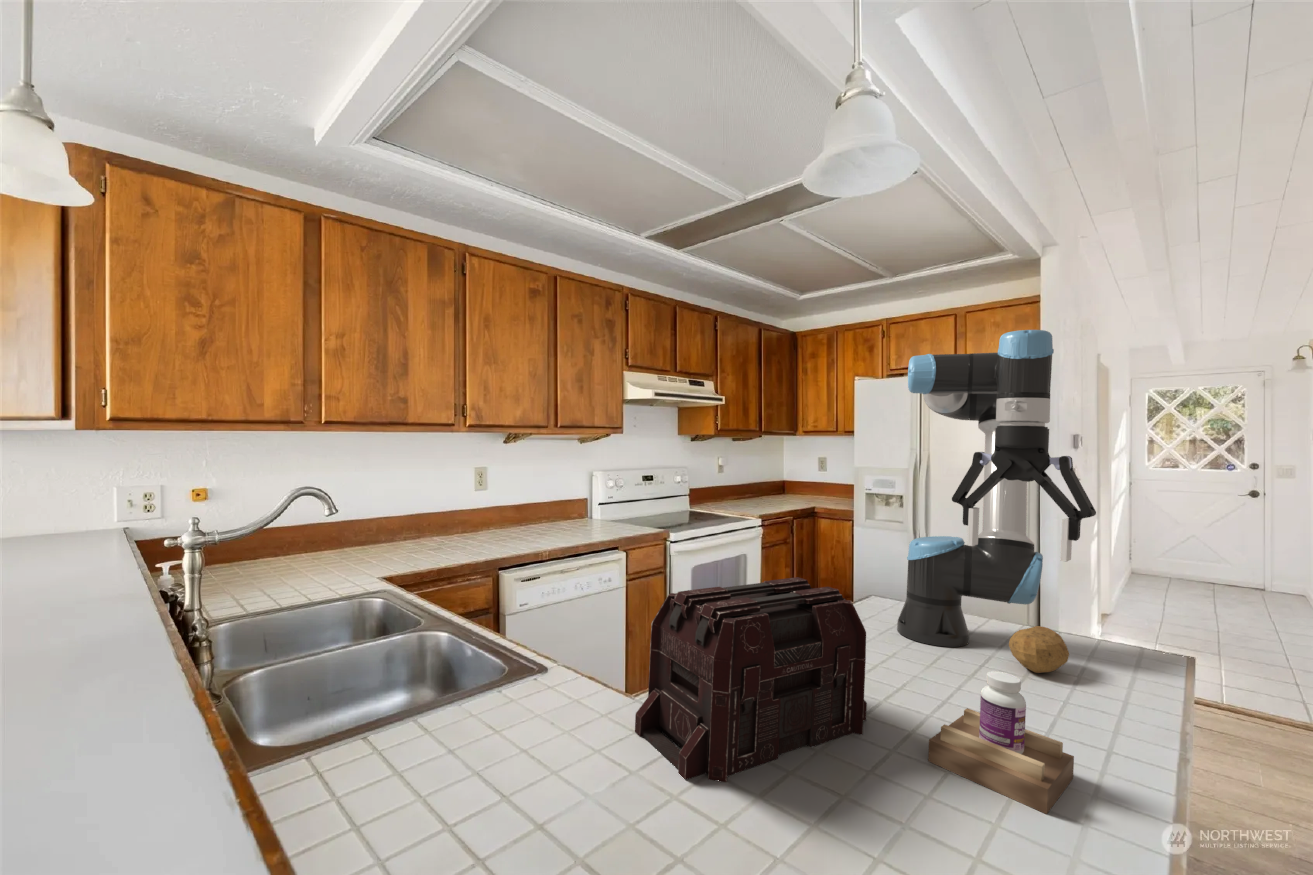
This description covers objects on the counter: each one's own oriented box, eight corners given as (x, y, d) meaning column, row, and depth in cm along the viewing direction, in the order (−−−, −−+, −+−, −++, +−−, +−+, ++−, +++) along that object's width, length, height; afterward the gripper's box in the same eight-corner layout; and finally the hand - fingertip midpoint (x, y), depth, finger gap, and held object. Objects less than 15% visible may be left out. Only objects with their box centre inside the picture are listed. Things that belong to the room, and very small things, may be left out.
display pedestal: (928, 761, 78) (929, 726, 78) (962, 734, 86) (963, 703, 86) (1046, 814, 68) (1048, 774, 68) (1073, 778, 76) (1074, 742, 76)
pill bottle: (1024, 762, 73) (1027, 688, 73) (978, 749, 76) (980, 678, 76) (1023, 744, 78) (1026, 675, 78) (979, 732, 81) (982, 665, 81)
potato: (997, 670, 113) (999, 630, 113) (1020, 655, 122) (1021, 618, 122) (1055, 687, 105) (1057, 645, 106) (1075, 670, 115) (1076, 631, 115)
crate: (697, 793, 69) (705, 623, 69) (625, 724, 85) (631, 586, 85) (881, 728, 87) (886, 594, 87) (793, 681, 103) (798, 568, 103)
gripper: (934, 423, 100) (930, 541, 101) (1111, 425, 81) (1105, 571, 82) (952, 424, 105) (947, 537, 105) (1123, 426, 86) (1116, 564, 87)
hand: (1016, 552), depth 94 cm, fingers open, 13 cm apart
